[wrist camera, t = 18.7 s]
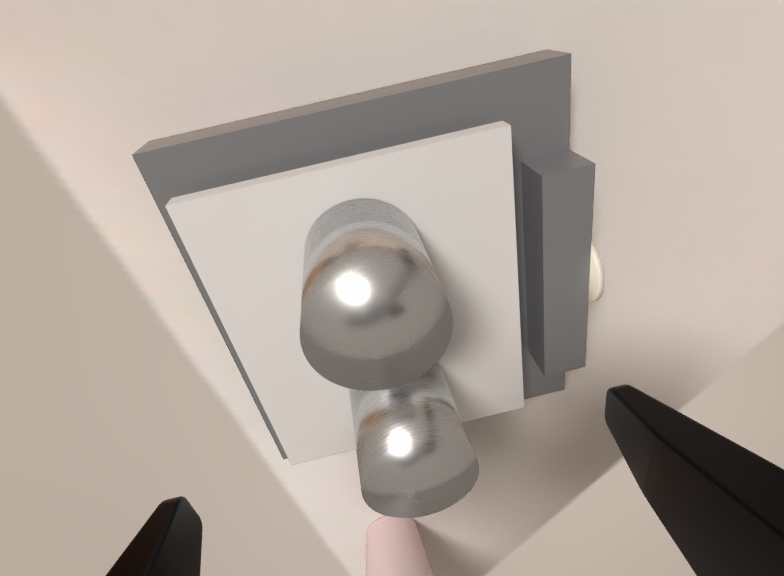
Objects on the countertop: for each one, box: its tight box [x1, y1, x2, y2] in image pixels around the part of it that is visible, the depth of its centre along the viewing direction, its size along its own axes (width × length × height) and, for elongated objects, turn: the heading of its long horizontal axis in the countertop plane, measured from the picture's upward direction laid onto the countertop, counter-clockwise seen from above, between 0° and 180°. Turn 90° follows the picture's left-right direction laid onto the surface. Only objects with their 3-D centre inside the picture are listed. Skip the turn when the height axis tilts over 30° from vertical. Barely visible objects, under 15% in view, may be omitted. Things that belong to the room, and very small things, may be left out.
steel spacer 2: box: [349, 362, 479, 518], centre depth 19 cm, size 4×4×5 cm
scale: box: [132, 50, 604, 465], centre depth 20 cm, size 16×17×5 cm
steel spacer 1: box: [300, 198, 453, 391], centre depth 15 cm, size 4×4×5 cm
